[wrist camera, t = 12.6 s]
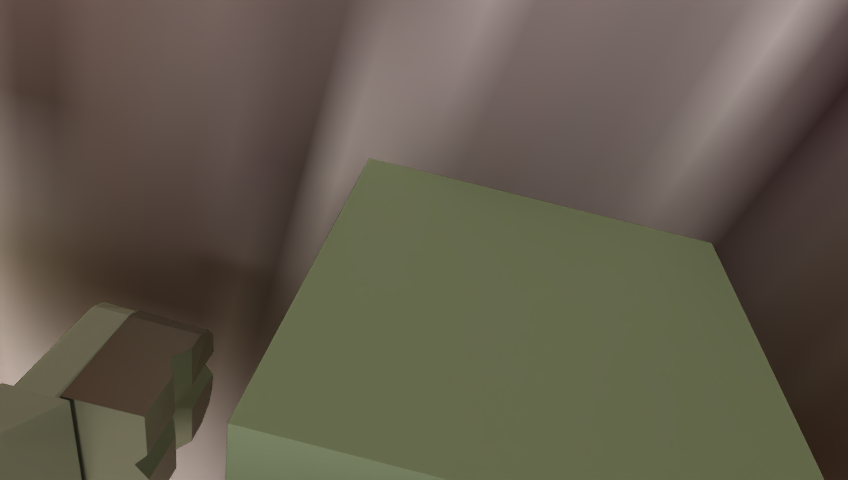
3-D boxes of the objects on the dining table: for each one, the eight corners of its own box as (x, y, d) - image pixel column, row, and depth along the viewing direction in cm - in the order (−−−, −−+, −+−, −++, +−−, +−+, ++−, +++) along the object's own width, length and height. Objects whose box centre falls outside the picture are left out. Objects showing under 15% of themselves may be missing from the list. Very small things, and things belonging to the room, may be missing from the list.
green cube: (709, 240, 9) (877, 589, 5) (590, 459, 11) (625, 806, 7) (371, 156, 9) (228, 423, 5) (330, 393, 12) (218, 698, 7)
